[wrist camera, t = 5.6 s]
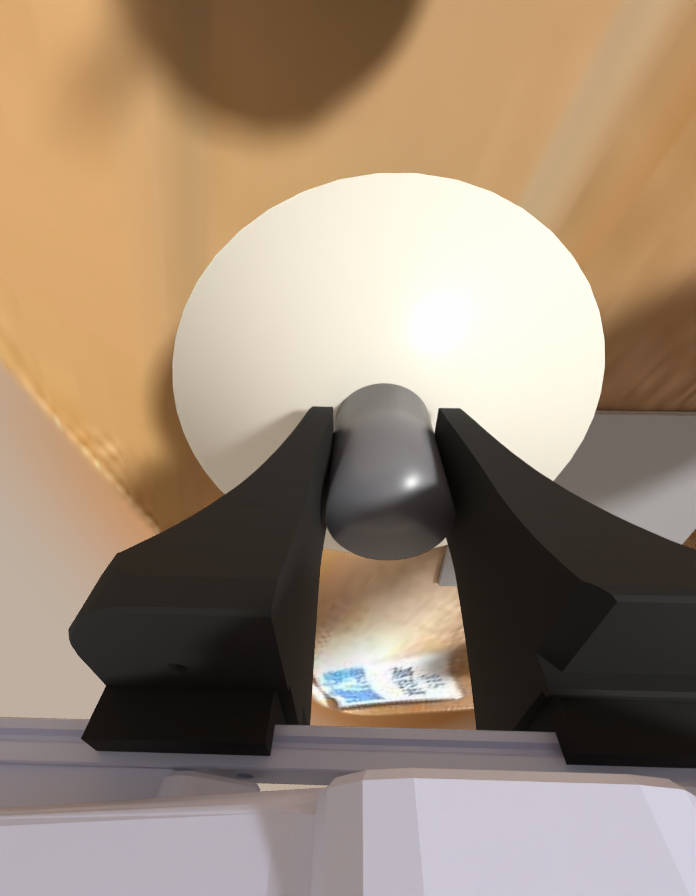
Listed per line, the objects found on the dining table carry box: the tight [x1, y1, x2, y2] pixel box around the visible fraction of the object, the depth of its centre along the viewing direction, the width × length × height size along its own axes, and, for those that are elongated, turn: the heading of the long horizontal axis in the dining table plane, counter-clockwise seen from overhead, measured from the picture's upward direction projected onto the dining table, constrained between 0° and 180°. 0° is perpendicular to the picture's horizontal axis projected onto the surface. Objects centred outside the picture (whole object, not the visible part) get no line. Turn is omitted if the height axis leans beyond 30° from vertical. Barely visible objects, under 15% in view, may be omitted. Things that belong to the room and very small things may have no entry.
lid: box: [172, 173, 605, 560], centre depth 11 cm, size 13×13×5 cm
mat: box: [438, 410, 696, 586], centre depth 23 cm, size 15×15×1 cm
